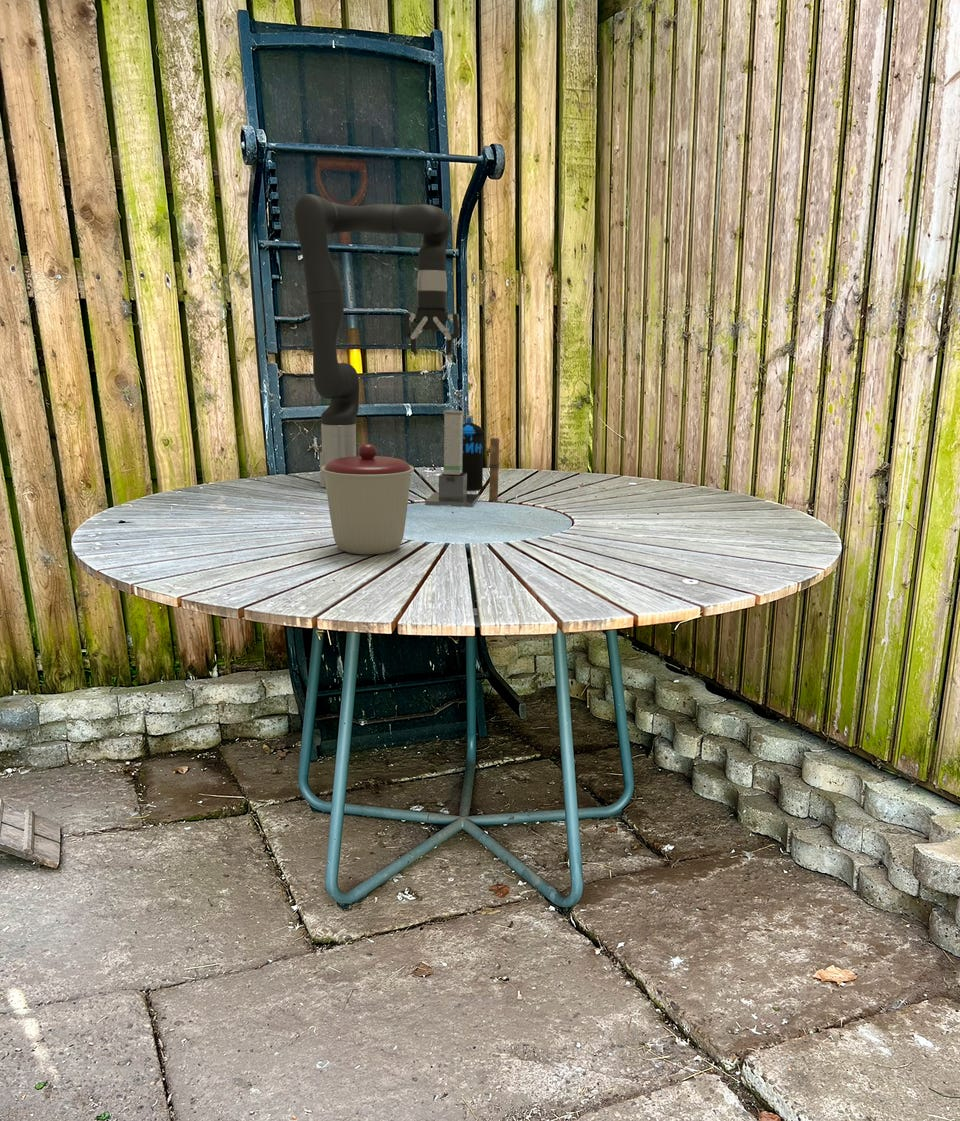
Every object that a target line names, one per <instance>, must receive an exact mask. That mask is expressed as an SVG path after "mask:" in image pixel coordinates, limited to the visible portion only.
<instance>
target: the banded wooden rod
mask: <svg viewBox="0 0 960 1121" xmlns="http://www.w3.org/2000/svg"><path fill="white" fill-rule="evenodd" d="M489 440H490V442H489V443H490V445H489V448H490V449H489V451H490V452H489V453H490V455H489V489H488V490H489V492H488V494H489V496H488V497H489V498H488V501H489V502H498V499H499V468H500V467H499V466H500V460H499V459H500V438H499V437H491V438H490V439H489Z"/></svg>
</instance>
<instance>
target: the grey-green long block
mask: <svg viewBox="0 0 960 1121" xmlns="http://www.w3.org/2000/svg"><path fill="white" fill-rule="evenodd" d="M464 414H465V410H450V409H448V410H444V411H443V412H442V415H444V419H443V421H444V424H443V425H444V427H443V428H444V429H443V435H444V436H443V445H444V446H443V472H444V474H449V475H460V474H461V473H462V445H463V424H464V422H463V421H464Z"/></svg>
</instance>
